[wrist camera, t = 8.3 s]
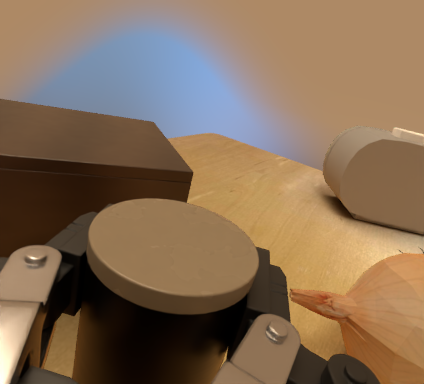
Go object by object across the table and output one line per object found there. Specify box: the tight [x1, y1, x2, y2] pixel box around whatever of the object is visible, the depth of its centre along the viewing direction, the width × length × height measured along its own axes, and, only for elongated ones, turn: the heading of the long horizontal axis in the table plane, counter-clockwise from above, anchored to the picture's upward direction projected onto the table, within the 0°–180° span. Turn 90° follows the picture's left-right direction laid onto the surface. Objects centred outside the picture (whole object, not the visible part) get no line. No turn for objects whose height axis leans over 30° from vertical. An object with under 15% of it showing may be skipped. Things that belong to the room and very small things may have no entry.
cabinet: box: [0, 99, 193, 258], centre depth 26 cm, size 14×13×10 cm
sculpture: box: [290, 247, 424, 384], centre depth 20 cm, size 9×9×15 cm
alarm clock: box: [323, 126, 424, 235], centre depth 50 cm, size 21×10×13 cm, turn 88°
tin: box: [72, 198, 259, 384], centre depth 11 cm, size 5×5×8 cm
